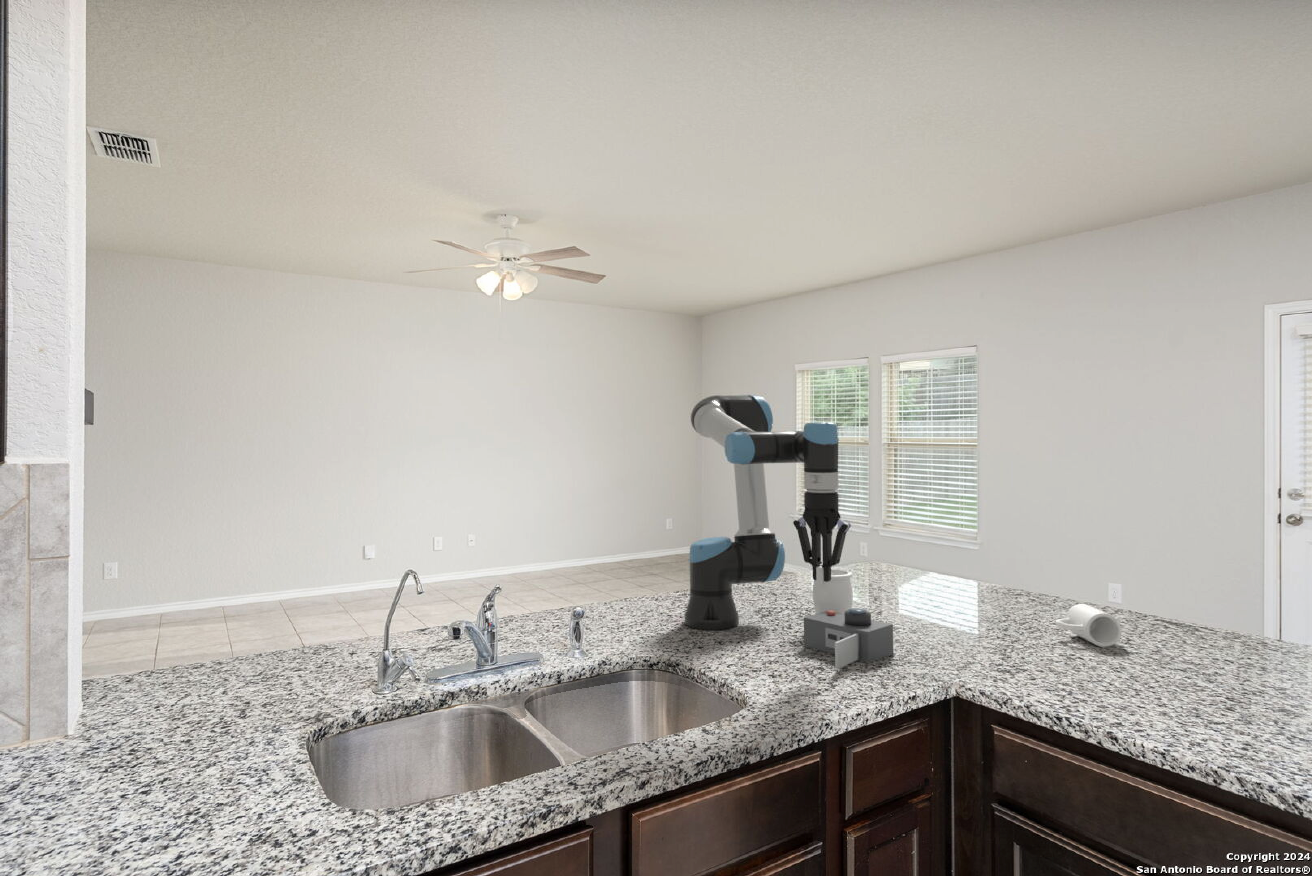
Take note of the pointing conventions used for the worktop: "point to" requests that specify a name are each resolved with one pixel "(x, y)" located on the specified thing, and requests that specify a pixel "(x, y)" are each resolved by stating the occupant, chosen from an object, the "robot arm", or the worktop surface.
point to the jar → (835, 593)
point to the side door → (846, 651)
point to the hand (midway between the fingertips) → (822, 595)
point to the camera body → (849, 633)
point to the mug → (1092, 625)
